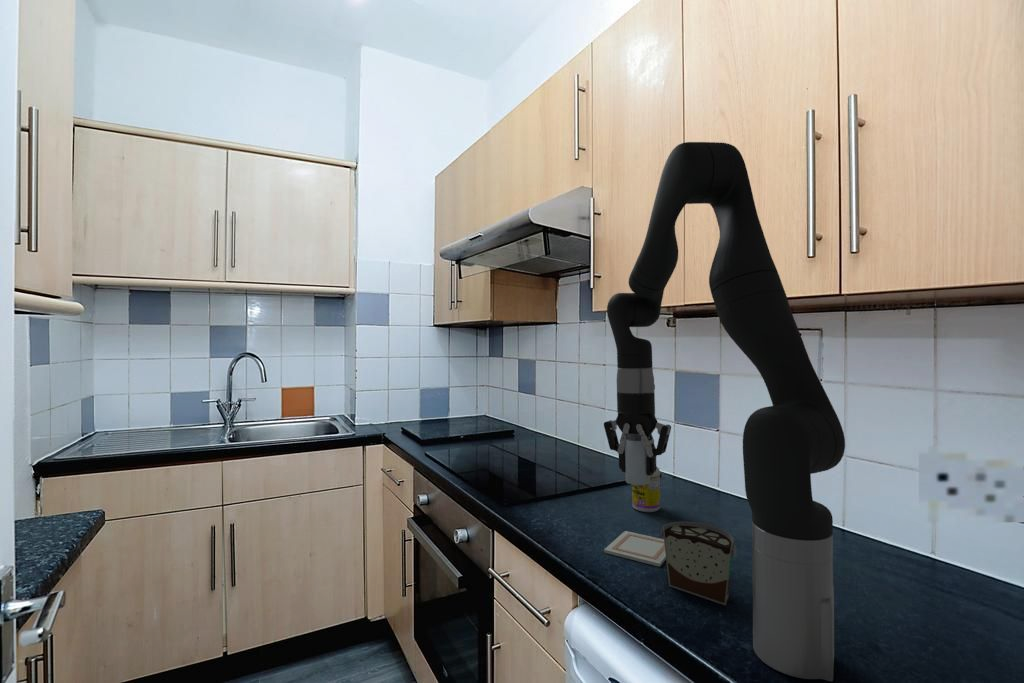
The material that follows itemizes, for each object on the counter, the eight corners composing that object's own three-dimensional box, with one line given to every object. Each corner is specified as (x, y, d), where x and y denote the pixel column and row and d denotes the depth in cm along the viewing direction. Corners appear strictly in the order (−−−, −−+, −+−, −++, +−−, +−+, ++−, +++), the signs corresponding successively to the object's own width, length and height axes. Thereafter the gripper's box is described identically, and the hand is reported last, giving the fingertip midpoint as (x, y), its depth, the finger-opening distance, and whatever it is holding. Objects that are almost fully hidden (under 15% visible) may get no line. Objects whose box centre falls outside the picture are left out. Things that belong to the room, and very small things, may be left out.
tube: (653, 480, 102) (651, 432, 102) (645, 486, 98) (643, 435, 98) (631, 477, 104) (629, 430, 105) (622, 483, 101) (620, 433, 101)
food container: (748, 593, 81) (747, 532, 81) (735, 609, 76) (735, 544, 76) (675, 570, 89) (675, 515, 89) (660, 583, 85) (660, 525, 85)
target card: (677, 545, 100) (677, 541, 100) (659, 566, 91) (659, 563, 91) (625, 533, 106) (625, 530, 106) (604, 552, 97) (604, 549, 97)
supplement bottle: (626, 505, 123) (626, 454, 123) (649, 502, 125) (648, 451, 125) (642, 514, 117) (642, 460, 117) (666, 510, 119) (665, 457, 119)
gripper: (595, 390, 102) (597, 472, 102) (664, 392, 94) (666, 482, 94) (610, 387, 108) (612, 465, 108) (676, 389, 100) (678, 473, 100)
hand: (637, 472), depth 101 cm, fingers closed on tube, 4 cm apart
